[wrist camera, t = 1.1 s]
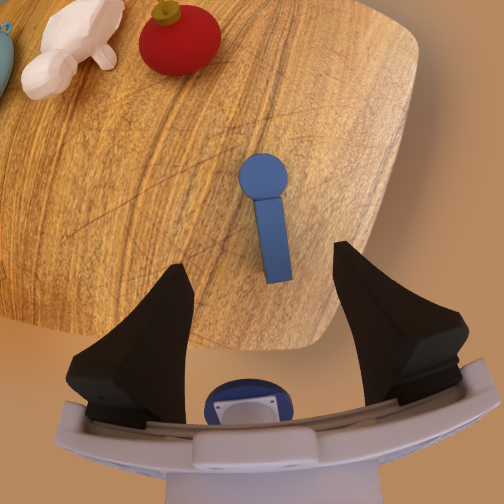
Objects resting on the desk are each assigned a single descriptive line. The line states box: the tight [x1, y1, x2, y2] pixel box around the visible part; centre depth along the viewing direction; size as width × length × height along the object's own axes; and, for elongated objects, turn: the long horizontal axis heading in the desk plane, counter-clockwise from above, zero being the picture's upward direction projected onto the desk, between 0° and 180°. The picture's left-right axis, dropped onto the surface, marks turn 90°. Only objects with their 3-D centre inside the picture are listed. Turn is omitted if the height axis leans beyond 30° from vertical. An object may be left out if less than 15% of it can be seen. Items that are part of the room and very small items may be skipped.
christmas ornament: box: [139, 0, 221, 76], centre depth 16 cm, size 7×7×10 cm
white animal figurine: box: [21, 0, 125, 101], centre depth 16 cm, size 9×8×15 cm
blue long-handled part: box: [239, 154, 292, 284], centre depth 23 cm, size 11×4×3 cm, turn 9°
